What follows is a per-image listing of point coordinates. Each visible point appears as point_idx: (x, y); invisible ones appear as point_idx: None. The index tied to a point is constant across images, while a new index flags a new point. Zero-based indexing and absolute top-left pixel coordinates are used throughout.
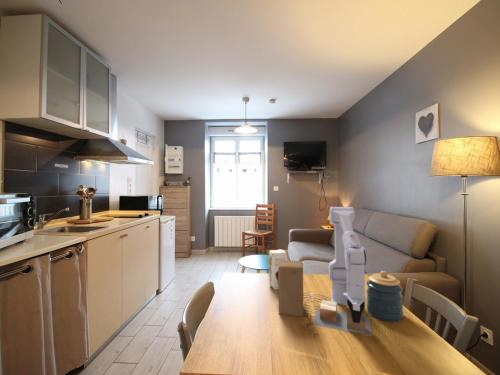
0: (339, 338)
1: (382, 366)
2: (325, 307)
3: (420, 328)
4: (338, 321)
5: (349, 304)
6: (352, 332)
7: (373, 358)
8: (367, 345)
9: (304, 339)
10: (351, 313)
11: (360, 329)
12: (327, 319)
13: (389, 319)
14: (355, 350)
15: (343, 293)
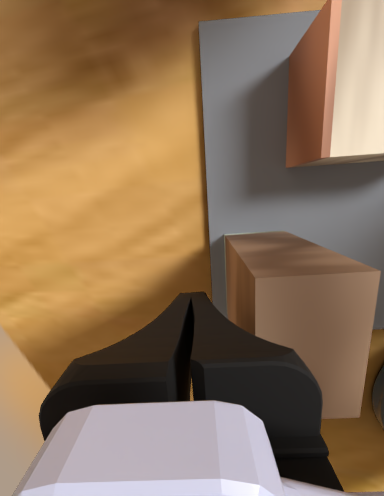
0: (138, 204)
1: (46, 358)
2: (369, 51)
3: (354, 481)
4: (294, 182)
5: (49, 402)
6: (211, 259)
7: (73, 335)
8: (146, 317)
9: (27, 13)
10: (153, 322)
11: (228, 300)
12: (289, 111)
13: (380, 413)
14: (85, 275)
15: (159, 482)
